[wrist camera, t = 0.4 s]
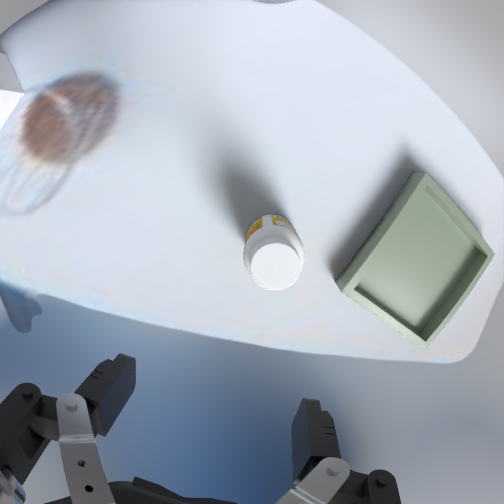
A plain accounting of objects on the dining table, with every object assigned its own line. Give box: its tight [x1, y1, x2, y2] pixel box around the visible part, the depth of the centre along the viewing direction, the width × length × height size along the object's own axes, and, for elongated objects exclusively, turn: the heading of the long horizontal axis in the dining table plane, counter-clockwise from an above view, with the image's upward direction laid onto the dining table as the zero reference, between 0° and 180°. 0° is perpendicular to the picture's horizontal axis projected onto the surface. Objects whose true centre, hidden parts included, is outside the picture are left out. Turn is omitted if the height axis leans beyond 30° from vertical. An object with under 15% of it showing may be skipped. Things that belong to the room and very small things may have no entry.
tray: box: [335, 171, 495, 350], centre depth 31 cm, size 16×16×3 cm
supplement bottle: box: [243, 214, 305, 290], centre depth 28 cm, size 5×5×10 cm
